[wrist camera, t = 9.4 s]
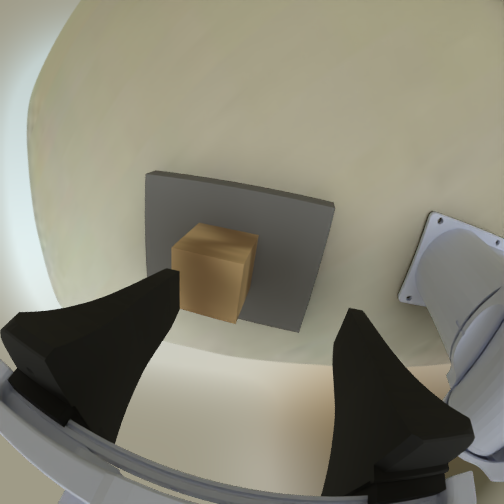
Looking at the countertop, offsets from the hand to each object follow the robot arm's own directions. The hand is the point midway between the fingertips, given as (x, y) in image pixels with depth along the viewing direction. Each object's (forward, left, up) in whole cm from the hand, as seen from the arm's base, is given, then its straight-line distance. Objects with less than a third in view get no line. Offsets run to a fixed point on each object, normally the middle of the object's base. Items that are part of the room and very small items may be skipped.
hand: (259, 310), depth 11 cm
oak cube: (+4, +3, -9) cm, 10 cm away
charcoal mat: (+4, +3, -10) cm, 11 cm away
